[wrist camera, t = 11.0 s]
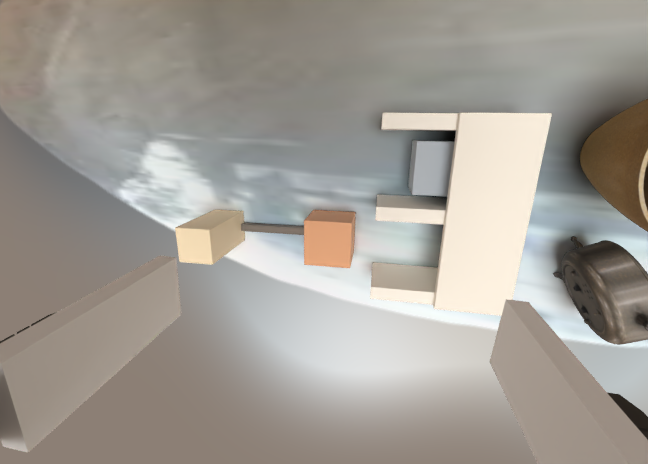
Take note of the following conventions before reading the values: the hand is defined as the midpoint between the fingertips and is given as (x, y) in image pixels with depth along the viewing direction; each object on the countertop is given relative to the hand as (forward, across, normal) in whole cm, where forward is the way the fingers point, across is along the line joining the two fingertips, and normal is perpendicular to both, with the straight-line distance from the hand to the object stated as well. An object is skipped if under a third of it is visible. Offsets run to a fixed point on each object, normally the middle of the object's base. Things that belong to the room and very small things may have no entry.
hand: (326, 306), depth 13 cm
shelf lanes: (+33, +9, -2) cm, 34 cm away
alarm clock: (+33, +28, -9) cm, 44 cm away
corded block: (+33, -12, -7) cm, 35 cm away
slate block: (+33, +8, +3) cm, 34 cm away
